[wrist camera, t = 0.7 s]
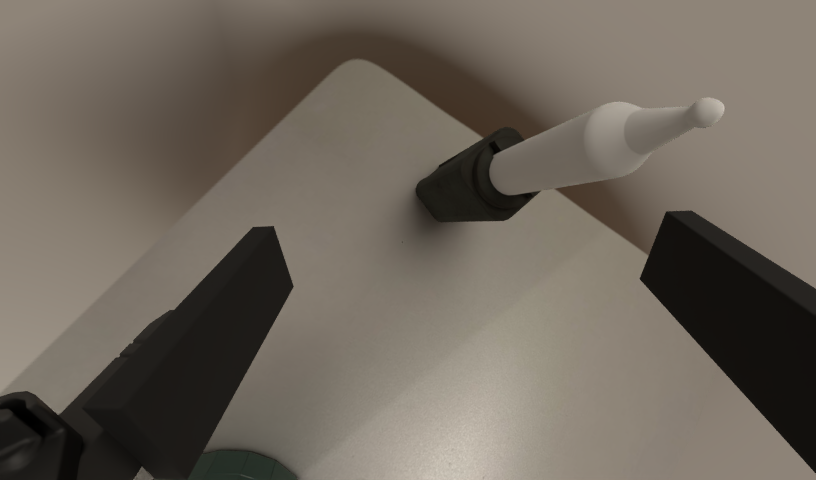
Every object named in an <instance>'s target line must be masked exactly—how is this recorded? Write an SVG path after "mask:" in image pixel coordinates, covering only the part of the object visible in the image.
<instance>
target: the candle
mask: <svg viewBox="0 0 816 480" xmlns="http://www.w3.org/2000/svg"><path fill="white" fill-rule="evenodd" d="M723 113H724V105H723V104H722V103H721V102H720V101H719V100H716V99H714V98H703V99H700V100H698V101H697V102H696V103H694V104H693V105H692V106H687V107H669V108H649V109H643V108H641V107H638V106H635V105H632V104H629V103H626V102H612V103H608V104H604V105H602V106H600V107H598V108H595V109H593V110H591V111H589V112H586V113H584V114H582V115H580V116H578V117H576V118H573V119H572V120H569V121H567V122H565V123H563V124H560V125H558V126H556V127H554V128H551V129H550V130H547V131H545V132H543V133H540V134H538V135H536V136H534V137H532V138H529V139H527V140H524V139H523V137H522V136H521V135H520V133H519V132H518V131H517V130H515V129H513V128H510V127H504V128H501V129H499V130H497V131H495V132H494V133H492V134H490V135H489V136H487V137H485V138H484V139H482V140H480V141H479V142H477V143H475V144H474V145H472V146H470V147H469V148H467V149H465V150H464V151H462V152H461V153H459V154H457V155H456V156H454V157H452V158H451V159H449V160H447V161H446V162H444V163H442V164H441V165H439V168H438V169H437V170H436V171H435V172H433V173H432V174H431V175H430V176H428V177H426V178H425V179H423V180H421V181H420V182H419V183H418V184H417V187H416V193H417V196H418V197H419V199H420V200H421V201H422V203H423V204H424V205H425V206H426V208H427V209H428V210H429V212H430V213H431V214H432V215H433V217H434V218H435V219H436V220H437V221H440V222H469V221H504V220H507V219H509V218H511V217H512V216H513V215H514V214H515V213H516V212H518V211H519V210H520V209H521V208H522V207H523V206H524V205H526V204H527V203H528V202H529V201H530V200H531V199H532V198H534V197H535V196H536V195H537V194H538V193H539V192H540V191H541V190H547V189H553V188H559V187H565V186H570V185H577V184H583V183H589V182H595V181H601V180H607V179H613V178H618V177H622V176H625V175H628V174H631V173H632V172H634V171H635V170H636V169H638V168H639V167H640V166H641V165H642V164H643V163H644V162H645V161H646V159H647V158H648V157H649V156H650V155H651V153H652V152H653V151H655V150H656V149H658V148H660V147H661V146H663V145H665V144H667V143H668V142H670V141H672V140H673V139H675V138H677V137H679V136H680V135H682V134H684V133H685V132H687V131H689V130H691V129H692V128H694V127H698V128H706V127H709V126H712V125H713V124H715V123H716V122H717V121H718V120H719V119H720V118H721V116H722V115H723Z"/></svg>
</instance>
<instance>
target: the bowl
mask: <svg viewBox="0 0 816 480" xmlns="http://www.w3.org/2000/svg"><path fill="white" fill-rule="evenodd" d="M153 480H177V479H155V478H154V479H153ZM188 480H298V479H297V477H296V476H295V475H293V474H292V473H291V472H290V471H288V470H287V469H286V468H285V467H283V466H282V465H281V464H280V463H278V462H277V461H275V460H273V459H270V458H267V457H264V456H261V455H258V454H256V453H253V452H249V451H221V450H220V451H215V452H211V453H207V454H203V455H201V456H200V458H199V460H198V461H197V463H196V465H195V467H194V469H193V470H192V472H191V474H190V476H189V478H188Z"/></svg>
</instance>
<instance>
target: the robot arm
mask: <svg viewBox="0 0 816 480" xmlns="http://www.w3.org/2000/svg"><path fill="white" fill-rule="evenodd" d="M640 280H641V281H642V282H643V283H644V284H645V285H646V287H647V288H648V289H649V290H650V291H651V292H652V293H653V294H654V295H655V297H656V298H657V299H658V300H659V301H660V302H661V303H662V304H663V305H664V306H665V308H666V309H667V310H668V311H669V312H670V313H671V314H672V315H673V316H674V317H675V319H676V320H677V321H678V322H679V323H680V324H681V325H682V326H683V327H684V329H685V330H686V331H687V332H688V333H689V334H690V335H691V336H692V337H693V338H694V340H695V341H696V342H697V343H698V344H699V345H700V346H701V347H702V348H703V349H704V351H705V352H706V353H707V354H708V355H709V356H710V357H711V358H712V359H713V361H714V362H715V363H716V364H717V365H718V366H719V367H720V368H721V369H722V370H723V371H724V373H725V374H726V375H727V376H728V377H729V378H730V379H731V380H732V381H733V383H734V384H735V385H736V386H737V387H738V388H739V389H740V390H741V391H742V393H744V395H745V396H746V397H747V398H748V399H749V400H750V401H751V402H752V404H753V405H754V406H755V407H756V408H757V409H758V410H759V411H760V412H761V414H762V415H763V416H764V417H765V418H766V419H767V420H768V421H769V422H770V423H771V424H772V425H773V427H774V428H775V429H776V430H777V431H778V432H779V433H780V434H781V436H782V437H783V438H784V439H785V440H786V441H787V442H788V443H789V444H790V446H791V447H792V448H793V449H794V450H795V451H796V452H797V453H798V454H799V455H800V456H801V458H802V459H803V460H804V461H805V462H806V463H807V464H808V465H809V466H810V468H811V469H812V470H813V471H814V472H815V473H816V289H815V288H814V287H812V286H810V285H809V284H807V283H806V282H804V281H802V280H801V279H799V278H798V277H796V276H795V275H793V274H791V273H790V272H788V271H787V270H785V269H783V268H781V267H780V266H779V265H777V264H775V263H774V262H772V261H771V260H769V259H767V258H766V257H764V256H763V255H761V254H760V253H758V252H756V251H755V250H753V249H751V248H750V247H748V246H747V245H745V244H744V243H742V242H740V241H739V240H737V239H736V238H734V237H733V236H731V235H729V234H727V233H726V232H725V231H723V230H721V229H720V228H718V227H717V226H715V225H713V224H712V223H710V222H709V221H707V220H706V219H704V218H702V217H700V216H699V215H697V214H696V213H694V212H693V211H672V212H671V211H669V212H666V213H665V216H664V219H663V221H662V224H661V226H660V228H659V231H658V234H657V236H656V239H655V242H654V244H653V246H652V249H651V251H650V254H649V257H648V259H647V262H646V264H645V267H644V269H643V272H642V274H641V277H640ZM293 287H294V286H293V283H292V280H291V277H290V274H289V271H288V268H287V265H286V262H285V259H284V256H283V253H282V250H281V247H280V244H279V241H278V238H277V235H276V232H275V229H274V226H268V227H253V228H252V229H251V230H250V231H249V232H248V233H247V234H246V235H245V236H244V237H243V238H242V239H241V240H240V241H239V242H238V243H237V244H236V246H235V247H234V248H233V249H232V250H231V251H230V252H229V253H228V254H227V255H226V256H225V257H224V258H223V259H222V260H221V261H220V262H219V263H218V264H217V266H216V267H215V268H214V269H213V270H212V271H211V272H210V273H209V274H208V275H207V276H206V277H205V278H204V279H203V280H202V281H201V282H200V283H199V284H198V286H197V287H196V288H195V289H194V290H193V291H192V292H191V293H190V294H189V295H188V296H187V297H186V298H185V299H184V300H183V301H182V302H181V303H180V304H179V305H178V307H177V308H176V309H175V310H169V311H168V312H167V313H165V314H164V315H162V316H161V317H159V318H158V319H156V320H155V321H153V322H152V323H150V324H149V325H148V326H147V327H146V328H145V329H144V330H143V331H142V332H141V333H140V334H139V335H138V336H137V337H136V338H135V339H134V340H133V341H134V342H133V343H132V344H129V345H128V346H127V347H126V348H125V349H124V350H123V351H122V352H121V353H120V357H119V358H115V359H114V360H113V361H112V362H111V363H110V364H109V365H108V366H107V367H106V368H105V369H104V370H103V371H102V372H101V373H100V374H99V375H98V376H97V377H96V378H95V379H94V380H93V381H92V382H91V383H90V384H89V385H88V387H87V388H86V389H85V390H84V391H83V392H82V393H81V394H80V395H79V396H78V397H77V398H76V399H75V400H74V401H73V402H72V403H71V404H70V405H69V406H68V407H67V408H66V409H65V410H64V411H63V412H62V413H61V414H59V415H57V414H56V413H55V412H54V411H53V410H52V409H51V408H49V407H48V406H47V405H46V404H45V403H44V402H43V401H42V400H40V399H39V398H38V397H37V396H36V395H34V394H32V393H30V392H28V391H25V392H15V393H10V394H7V395H4V396H1V397H0V480H133V479H134V477H135V476H136V474H137V473H138V471H139V470H140V468H141V467H143V468H144V469H145V470H146V471H148V472H149V473H150V474H151V475H152V476H153V477H154V478H155V479H177V480H188V478H189V476H190V474H191V472H192V470H193V469H194V467H195V465H196V463H197V461H198V460H199V458H200V456H201V454H202V452H203V450H204V449H205V447H206V445H207V443H208V441H209V440H210V438H211V436H212V434H213V432H214V430H215V429H216V427H217V425H218V423H219V421H220V420H221V418H222V416H223V414H224V412H225V410H226V409H227V407H228V405H229V403H230V401H231V400H232V398H233V396H234V394H235V392H236V390H237V389H238V387H239V385H240V383H241V381H242V380H243V378H244V376H245V374H246V372H247V370H248V369H249V367H250V365H251V363H252V361H253V360H254V358H255V356H256V354H257V352H258V350H259V349H260V347H261V345H262V343H263V341H264V340H265V338H266V336H267V334H268V332H269V330H270V329H271V327H272V325H273V323H274V321H275V320H276V318H277V316H278V314H279V312H280V310H281V309H282V307H283V305H284V303H285V301H286V300H287V298H288V296H289V294H290V292H291V290H292V289H293Z"/></svg>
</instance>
